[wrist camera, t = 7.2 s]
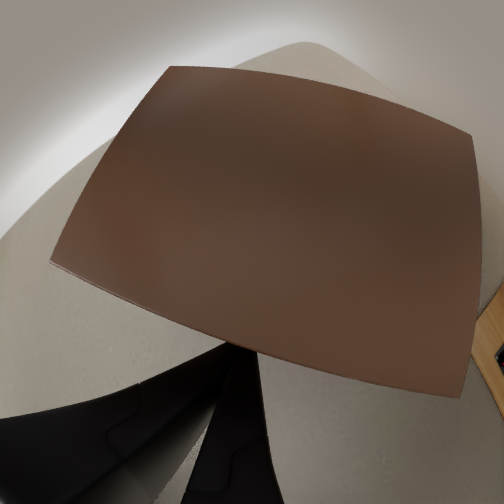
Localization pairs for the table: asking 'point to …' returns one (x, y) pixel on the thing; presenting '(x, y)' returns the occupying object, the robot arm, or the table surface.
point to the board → (491, 346)
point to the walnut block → (291, 225)
